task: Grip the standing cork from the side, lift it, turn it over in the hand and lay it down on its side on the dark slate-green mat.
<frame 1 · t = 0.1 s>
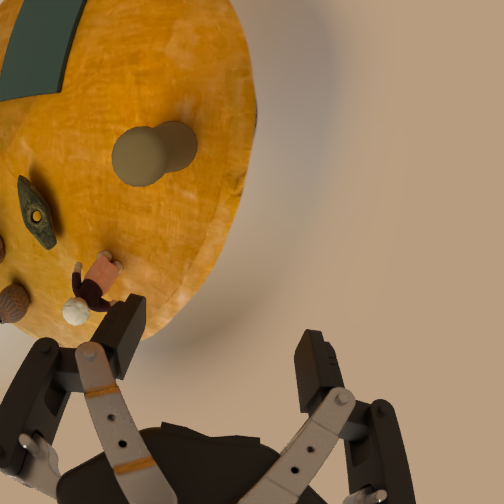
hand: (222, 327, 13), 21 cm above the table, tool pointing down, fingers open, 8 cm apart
mat: (39, 36, 19), on the table
grandmother figurine: (113, 264, 36), on the table
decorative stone: (45, 206, 32), on the table
vase: (22, 293, 39), on the table
cork: (172, 146, 29), on the table
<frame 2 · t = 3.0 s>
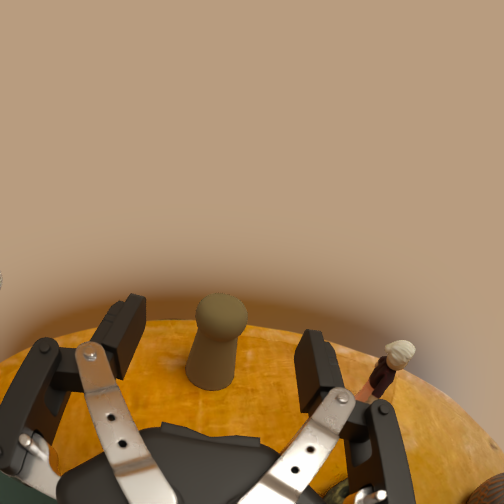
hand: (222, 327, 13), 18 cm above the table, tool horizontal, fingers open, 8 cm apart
grandmother figurine: (352, 410, 29), on the table
cork: (209, 371, 31), on the table
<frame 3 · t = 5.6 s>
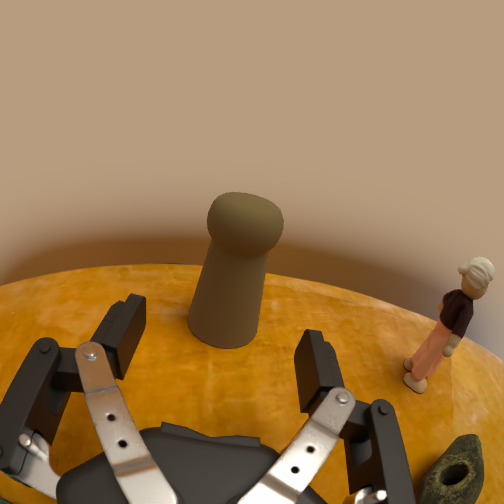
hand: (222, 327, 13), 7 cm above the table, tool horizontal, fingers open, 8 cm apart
grandmother figurine: (413, 373, 21), on the table
cork: (222, 324, 23), on the table
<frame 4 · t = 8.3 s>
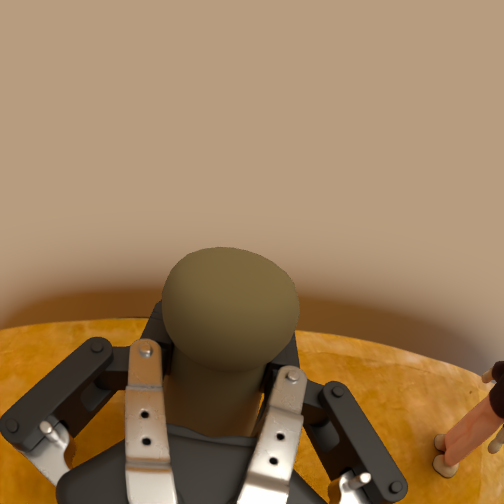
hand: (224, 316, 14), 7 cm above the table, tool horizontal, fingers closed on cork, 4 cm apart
grandmother figurine: (443, 451, 13), on the table
cork: (205, 418, 14), on the table, touching gripper
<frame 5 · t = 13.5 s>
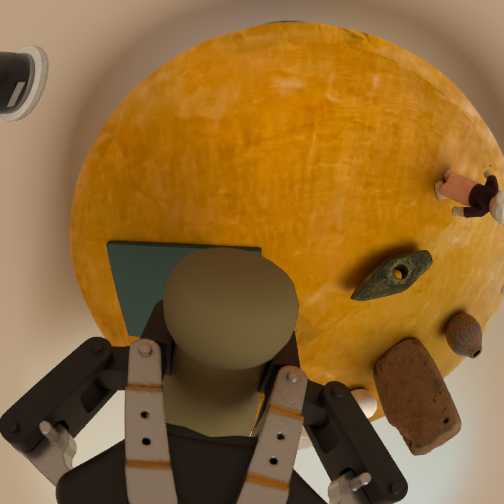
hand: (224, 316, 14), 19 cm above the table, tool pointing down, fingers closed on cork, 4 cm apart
mat: (184, 297, 36), on the table
block: (396, 354, 42), on the table
grandmother figurine: (446, 181, 28), on the table
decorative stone: (385, 267, 34), on the table
vase: (454, 321, 39), on the table
cup: (293, 393, 46), on the table
plain white apple: (355, 392, 47), on the table
cork: (205, 417, 15), point 21 cm above the table, touching gripper
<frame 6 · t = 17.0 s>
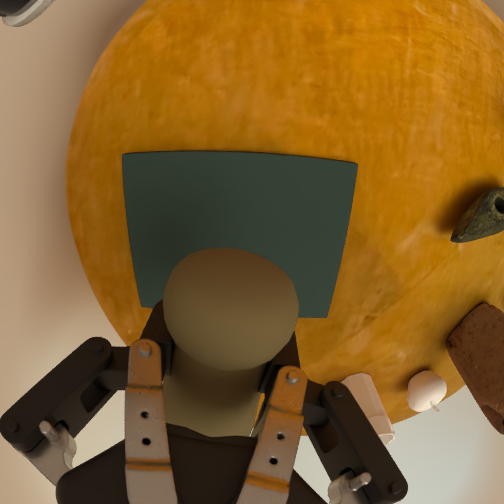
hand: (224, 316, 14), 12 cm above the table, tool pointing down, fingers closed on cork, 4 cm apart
mat: (234, 239, 25), on the table
block: (468, 325, 31), on the table
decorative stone: (475, 207, 23), on the table
cup: (354, 382, 35), on the table
plain white apple: (418, 376, 36), on the table
cork: (205, 417, 15), point 14 cm above the table, touching gripper
when the fingers open (2 cm above the table, at t = 20.2 s): cork stays where it is, resting on mat.
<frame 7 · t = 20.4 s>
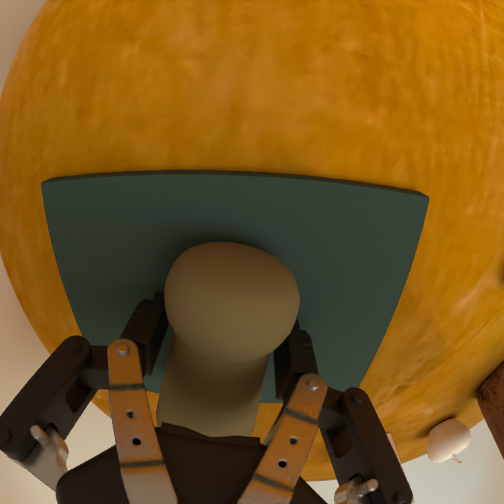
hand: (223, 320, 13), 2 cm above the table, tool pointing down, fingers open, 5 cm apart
mat: (222, 313, 15), on the table
block: (501, 370, 21), on the table
plain white apple: (441, 423, 26), on the table
cork: (205, 418, 14), point 4 cm above the table, touching mat
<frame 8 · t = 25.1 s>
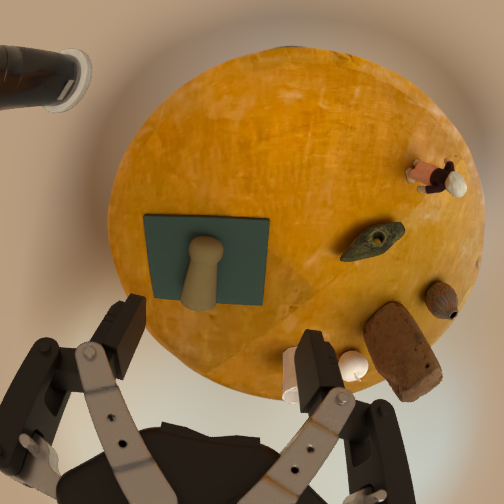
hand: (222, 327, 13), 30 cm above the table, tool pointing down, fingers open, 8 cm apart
mat: (205, 260, 46), on the table
block: (383, 318, 52), on the table
grandmother figurine: (416, 168, 38), on the table
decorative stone: (367, 236, 43), on the table
vase: (433, 290, 49), on the table
cup: (294, 353, 56), on the table
plain white apple: (348, 355, 56), on the table
cork: (198, 301, 44), point 4 cm above the table, touching mat
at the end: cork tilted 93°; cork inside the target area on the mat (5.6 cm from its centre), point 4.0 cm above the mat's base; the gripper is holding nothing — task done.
